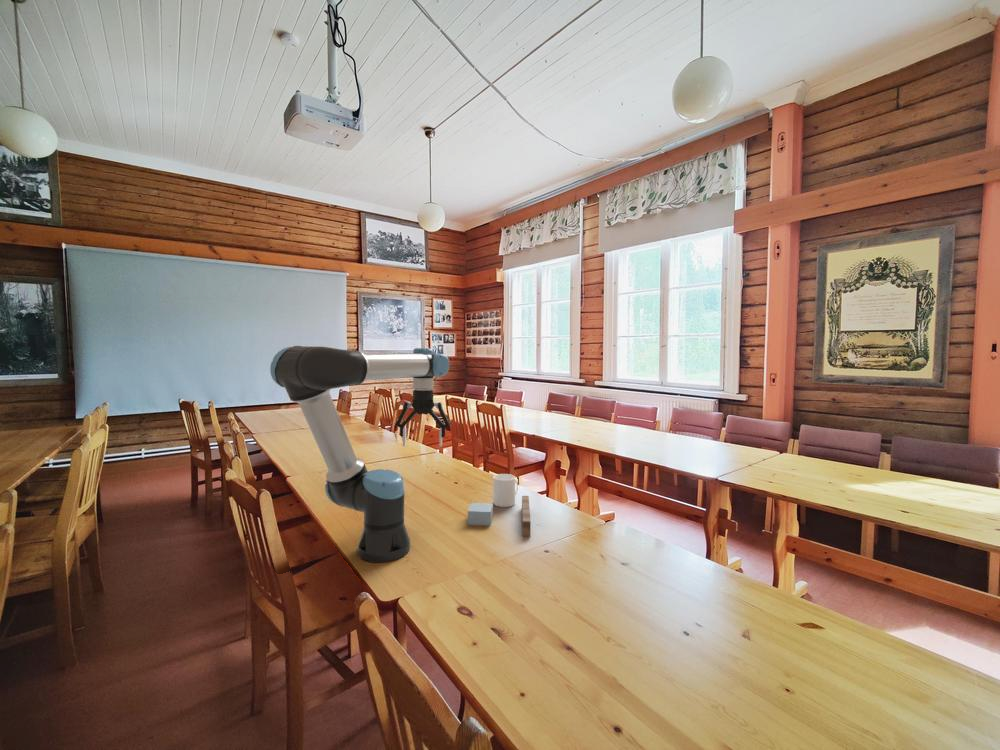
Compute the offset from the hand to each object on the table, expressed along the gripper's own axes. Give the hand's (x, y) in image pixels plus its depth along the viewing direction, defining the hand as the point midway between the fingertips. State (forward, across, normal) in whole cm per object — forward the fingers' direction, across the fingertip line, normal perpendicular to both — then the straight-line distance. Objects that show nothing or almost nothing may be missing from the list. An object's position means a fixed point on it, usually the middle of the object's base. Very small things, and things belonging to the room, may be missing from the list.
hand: (422, 445), depth 160 cm
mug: (+24, -33, -6) cm, 41 cm away
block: (+24, -23, +11) cm, 35 cm away
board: (+24, -38, +12) cm, 47 cm away
